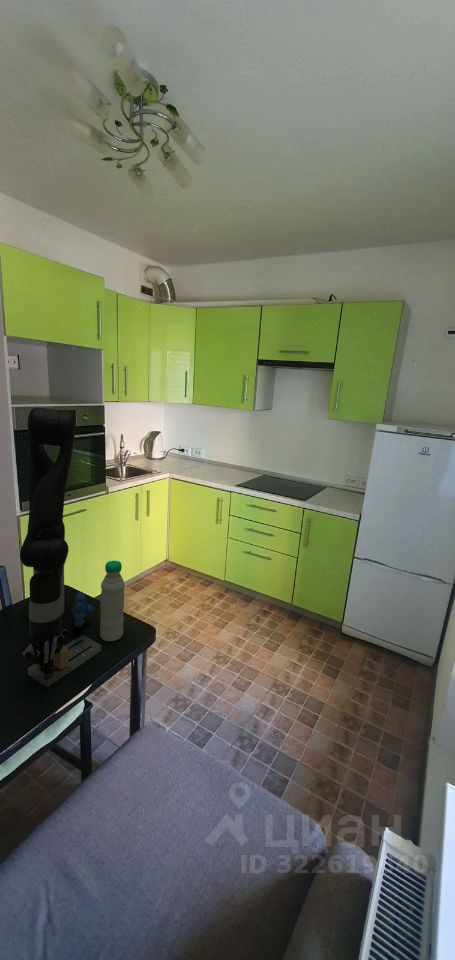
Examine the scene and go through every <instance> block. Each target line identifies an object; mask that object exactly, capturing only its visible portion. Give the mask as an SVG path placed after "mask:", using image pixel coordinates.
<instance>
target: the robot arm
mask: <svg viewBox="0 0 455 960" xmlns="http://www.w3.org/2000/svg"><path fill="white" fill-rule="evenodd" d="M76 423H77V422H76V417H75V414H74V413H73V412H72V411H67V410H59V409H54V408H45V407H34V408H32V409H30V411H29V413H28V417H27V437H28V438H27V440H28V450H29V451H28V452H29V454H28V455H29V469H28V470H29V472H28V505H29V507H28V509H29V510H28V522H27V533H26V536H25V537H24V540H23V543H22V544H21V547H20V551H19V559H20V561H21V564H22V565H23V567H26V568H32V569H33V570H32V573H33V575H32V576H31V577H30V579H29V585H28V587H29V603H28V622H29V623H28V624H29V625H28V626H29V627H28V628H29V629H28V631H29V634H30V638H29V640H28V644H29V645H28V646H27V647H26V649H21V651H20V655H21V656H23V657H24V658H26V659H27V660H29V661H31V662H33V663H34V664H35V663H36V664H38V665H40V671H41V672H43V673H45V674H48V673H49V672H51V671H52V668H53V658H54V655H55V654H58V653H59V652H60V651H61V649H62V647H63V646H65V643H66V641H67V639H68V637H69V635H70V633H71V632H70V631H69V630H67V629H66V628H64V627H63V626H62V625H63V615H64V613H65V564H66V562H67V558H68V555H69V545H68V542H67V541H66V539H65V538H66V537H65V536H66V527H65V523H64V509H65V508H64V507H65V496H66V495H65V494H66V489H67V488H66V487H67V481H68V478H69V477H68V476H69V473H70V469H71V468H70V467H71V462H72V461H71V460H72V456H73V450H74V445H75V437H76ZM45 446H54V447H55V446H56V447H59V452H58V455H57V458H56V460H55V461H54V460H53V459H52V458H51V457H50V455H49V454H48V452H47V450H46V448H45ZM58 643H59V645H58V647H56V646H57V644H58ZM34 650H36V652H37V656H36V655H35V652H34Z"/></svg>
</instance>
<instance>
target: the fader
mask: <svg viewBox="0 0 455 960" xmlns="http://www.w3.org/2000/svg"><path fill="white" fill-rule="evenodd" d="M57 647H58V646H57ZM53 659H54V665H55V666H56V667H58V668H59V669H62V668H64V667H65V666H67V665H68V648H67V647H65V645H63V647H62V649H61V651H60V652H59V653H58V654H55V655H54V658H53Z"/></svg>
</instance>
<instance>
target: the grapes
mask: <svg viewBox="0 0 455 960" xmlns="http://www.w3.org/2000/svg"><path fill="white" fill-rule="evenodd" d="M73 600H74V601H75V602H76V603H75V605H73V608H72V609H71V611H72V613H73V614H74V615H73V618H74V621H73V625H74V626H75V627H77V628H81V627H82V626H83V625H85V623H86V621H85V620H84V618H85V617H86V616H87V614H88V615H89V614H90V613H91V612H92V611H93V610H94V609H95V608H94V607H93V606H92V605H91V604H88V603H87V602H86V594H84V592H82V591H78V592H77V593H76V594H75V596H74V599H73Z"/></svg>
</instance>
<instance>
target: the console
mask: <svg viewBox="0 0 455 960" xmlns="http://www.w3.org/2000/svg"><path fill="white" fill-rule="evenodd" d="M64 646H65V647H67V648H68V665H67V666H65V667H64V668H62V669H59V668H58V667H56V666H55V665H54V661H53V668H52V671H51V672H49V673H48V674H45V673H43V672H41V671H40V665H38V664H36V663H34V664H32V665H30V666H29V667H27V675H28V676H29V677H31V678H33V679H34V680H36V681H37V682H38V683H40V684H41V685H43V686H44V687H45V688H49V687H50V686H51V685H53V684H55V683H56V682H58V681H59V680H60V679H61V678H63V677H65V676H67V675H68V674H69V673H71V672H73V671H74V670H75V669H77V668H78V667H80V666H81V665H83V664H84V663H85V662H87V661H88V660H90V659H91V658H93V657H94V656H96V655H97V654H99V653H100V652H101V651H102V645H101V644H100V643H98V642H96V641H94V640H93V639H91V638H89V637H87V636H85V635H84V634H82V635H80V636H79V637H77V638H75V639H74V640H72V641H70V642H68V643H66V644H64Z"/></svg>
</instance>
